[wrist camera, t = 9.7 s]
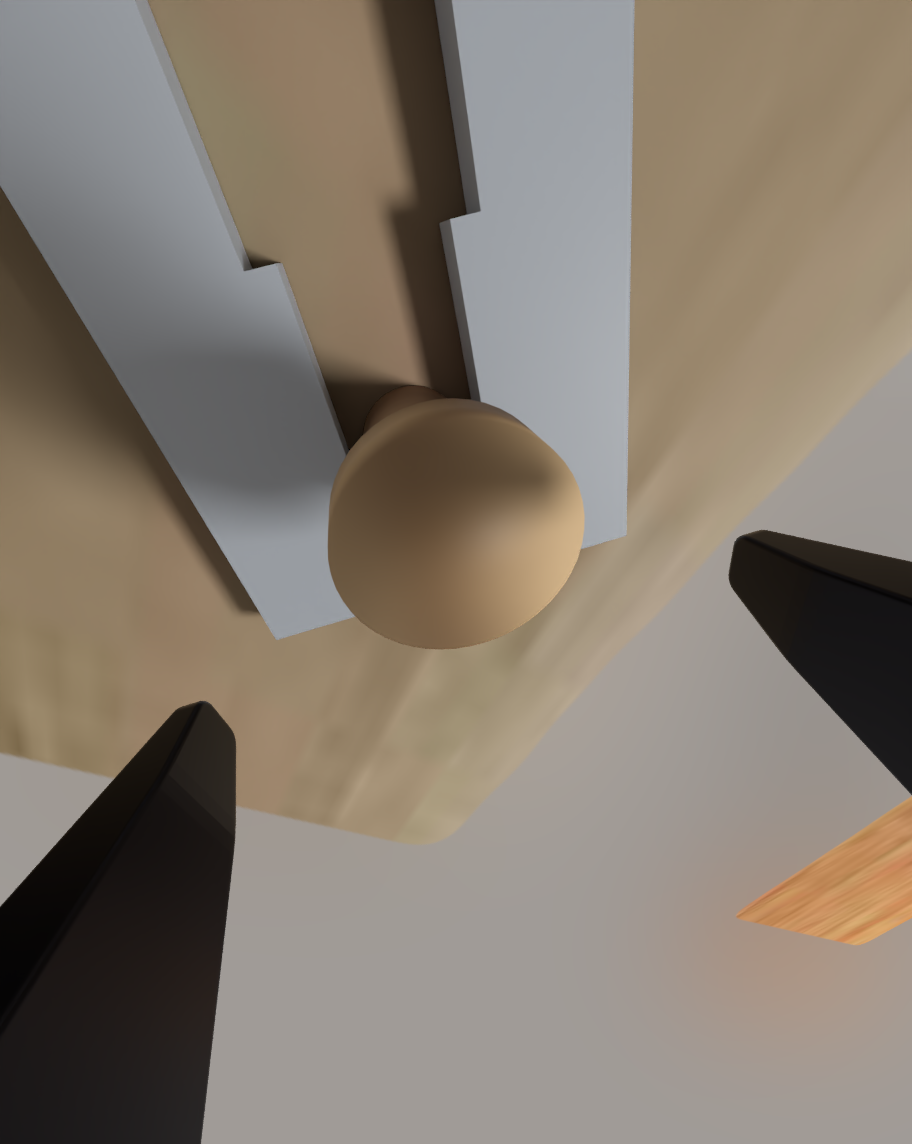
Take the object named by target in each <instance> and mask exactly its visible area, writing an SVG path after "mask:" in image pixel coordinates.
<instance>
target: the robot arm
mask: <svg viewBox="0 0 912 1144" xmlns="http://www.w3.org/2000/svg"><path fill="white" fill-rule="evenodd" d="M729 581H730V585H731V587H732V588H733V590H734V591H735V593H736V594H737V595H738V597H739V598H740V599H741V601H742V602H743V603H744V605H745V606H746V607H747V609H748V610H749V611H750V613H751V614H752V615H753V616H754V618H755V619H756V621H757V622H758V623H759V624H760V626H761V627H762V629H763V630H764V631H765V632H766V634H767V635H768V636H769V638H770V639H771V640H772V642H773V643H774V644H775V646H776V647H777V648H778V650H779V651H780V652H781V653H782V655H783V656H784V657H785V658H786V660H788V662H789V663H790V664H791V665H792V666H793V667H794V669H795V670H796V671H797V672H798V673H799V674H800V675H801V676H802V677H803V678H804V679H805V681H806V682H808V684H809V685H810V686H811V687H812V688H813V689H814V690H815V691H816V692H817V693H818V694H819V696H821V698H822V699H823V700H824V701H825V702H826V703H827V704H828V705H829V706H830V707H831V708H832V710H833V711H834V712H835V713H836V714H837V715H838V716H839V717H840V718H841V719H842V720H843V721H844V723H845V724H846V725H847V726H848V727H849V728H850V729H851V730H852V731H853V732H854V733H855V734H856V735H857V737H858V738H859V739H860V740H861V741H862V742H863V743H864V744H865V745H866V746H867V747H868V748H869V749H870V751H871V752H873V754H874V755H875V756H876V757H877V758H878V759H879V760H880V761H881V762H882V763H883V764H884V766H885V767H886V768H887V769H888V770H889V771H890V772H891V773H892V774H893V775H894V776H895V777H896V778H897V780H898V781H899V782H900V783H901V784H902V785H903V786H904V787H905V788H906V789H907V790H908V791H909V793H910V794H911V795H912V562H910V561H906V560H901V559H896V558H892V557H887V556H882V555H878V554H873V553H869V552H864V551H859V550H855V549H850V548H846V547H841V546H837V545H832V544H827V543H823V542H818V541H813V540H808V539H804V538H799V537H795V536H791V535H785V534H781V533H777V532H772V531H768V530H759V531H755V532H752V533H748V534H745V535H742V536H740V537H738V538H737V540H736V541H735V543H734V547H733V552H732V558H731V563H730V569H729ZM235 826H236V741H235V736H234V733H233V731H232V730H231V728H230V727H229V726H228V724H227V723H226V722H225V721H224V720H223V718H222V717H221V716H220V715H219V713H218V712H217V711H216V710H215V709H214V707H213V706H212V705H211V704H210V703H208V702H206V701H199V702H196V703H192V704H189V705H186V706H183V707H180V708H178V709H177V710H175V711H174V712H173V714H172V715H171V716H170V717H169V718H168V719H167V720H166V721H165V723H164V724H163V725H162V726H161V727H160V728H159V729H158V730H157V732H156V733H155V734H154V735H153V736H152V737H151V738H150V739H149V740H148V742H147V743H146V744H145V745H144V746H143V747H142V748H141V749H140V751H139V752H138V753H137V754H136V755H135V756H134V757H133V758H132V760H131V761H130V762H129V763H128V764H127V765H126V766H125V767H124V769H123V770H122V771H121V772H120V773H119V774H118V775H117V776H116V777H115V779H114V780H113V781H112V782H111V783H110V784H109V786H107V788H106V789H105V790H104V791H103V792H102V793H101V794H100V796H99V797H98V798H97V799H96V800H95V801H94V802H93V803H92V804H91V806H90V807H89V808H88V809H87V810H86V811H85V812H84V813H83V814H82V816H81V817H80V818H79V819H78V820H77V821H76V822H75V823H74V825H73V826H72V827H71V828H70V829H69V830H68V831H67V832H66V834H65V835H64V836H63V837H62V838H61V839H60V840H59V841H58V843H57V844H56V845H55V846H54V847H53V848H52V849H51V850H50V851H49V853H48V854H47V855H46V856H45V857H44V858H43V859H42V860H41V862H40V863H39V864H38V865H37V866H36V867H35V868H34V869H33V870H32V872H31V873H30V874H29V875H28V876H27V877H26V879H25V880H24V881H23V882H22V883H21V884H20V885H19V886H18V887H17V888H16V890H15V891H14V892H13V893H12V894H11V895H10V897H8V898H7V900H6V901H5V902H4V903H3V904H2V905H1V906H0V1144H201V1138H202V1129H203V1120H204V1111H205V1103H206V1093H207V1084H208V1076H209V1067H210V1058H211V1050H212V1041H213V1031H214V1022H215V1015H216V1005H217V996H218V988H219V979H220V970H221V962H222V953H223V944H224V935H225V926H226V917H227V909H228V900H229V891H230V882H231V874H232V865H233V855H234V844H235Z"/></svg>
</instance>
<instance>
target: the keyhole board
mask: <svg viewBox="0 0 912 1144" xmlns="http://www.w3.org/2000/svg"><path fill="white" fill-rule="evenodd" d="M434 1H435V7H436V14H437V21H438V27H439V34H440V40H441V47H442V54H443V60H444V67H445V73H446V80H447V87H448V93H449V100H450V106H451V113H452V119H453V126H454V133H455V139H456V146H457V152H458V159H459V166H460V172H461V179H462V185H463V192H464V198H465V205H466V212H467V215H464V216H460V217H456V218H452V219H449V220H446V221H444V222H441V223H439V225H440V230H441V236H442V241H443V247H444V252H445V258H446V263H447V269H448V274H449V280H450V285H451V291H452V296H453V302H454V307H455V313H456V318H457V324H458V329H459V335H460V340H461V346H462V351H463V357H464V362H465V368H466V373H467V379H468V384H469V390H470V395H471V400H474V401H479V402H483V403H487V404H490V405H492V406H495V407H497V408H500V409H502V410H504V411H506V412H507V413H509V414H511V415H513V416H514V417H516V418H517V419H518V420H519V421H521V422H522V423H523V424H525V425H526V426H527V427H528V428H529V429H530V430H532V431H533V432H534V433H535V434H536V435H537V436H538V437H540V438H541V439H542V440H543V441H544V442H545V443H546V444H547V445H549V446H550V447H551V448H552V449H553V450H554V451H555V452H556V453H557V454H558V455H559V456H560V457H561V458H562V459H563V460H564V462H565V463H566V465H567V466H568V468H569V469H570V471H571V472H572V474H573V476H574V478H575V480H576V482H577V484H578V487H579V490H580V493H581V497H582V500H583V507H584V515H585V520H584V535H583V541H582V546H581V549H583V548H586V547H590V546H593V545H596V544H600V543H603V542H606V541H610V540H613V539H617V538H620V537H623V536H626V526H627V460H628V393H629V327H630V260H631V193H632V127H633V60H634V0H434ZM0 186H1V188H2V190H3V191H4V193H5V195H6V196H7V198H8V200H9V201H10V203H11V205H12V206H13V208H14V209H15V211H16V213H17V214H18V216H19V218H20V219H21V221H22V223H23V224H24V226H25V228H26V229H27V231H28V232H29V234H30V236H31V237H32V239H33V241H34V242H35V244H36V246H37V247H38V249H39V251H40V252H41V254H42V255H43V257H44V259H45V260H46V262H47V264H48V265H49V267H50V269H51V270H52V272H53V274H54V275H55V277H56V278H57V280H58V282H59V283H60V285H61V287H62V288H63V290H64V292H65V293H66V295H67V297H68V298H69V300H70V301H71V303H72V305H73V306H74V308H75V310H76V311H77V313H78V315H79V316H80V318H81V320H82V321H83V323H84V325H85V326H86V328H87V329H88V331H89V333H90V334H91V336H92V338H93V339H94V341H95V343H96V344H97V346H98V348H99V349H100V351H101V352H102V354H103V356H104V357H105V359H106V361H107V362H108V364H109V366H110V367H111V369H112V371H113V372H114V374H115V375H116V377H117V379H118V380H119V382H120V384H121V385H122V387H123V389H124V390H125V392H126V394H127V395H128V397H129V398H130V400H131V402H132V403H133V405H134V407H135V408H136V410H137V412H138V413H139V415H140V417H141V418H142V420H143V421H144V423H145V425H146V426H147V428H148V430H149V431H150V433H151V435H152V436H153V438H154V440H155V441H156V443H157V445H158V446H159V448H160V449H161V451H162V453H163V454H164V456H165V458H166V459H167V461H168V463H169V464H170V466H171V468H172V469H173V471H174V472H175V474H176V476H177V477H178V479H179V481H180V482H181V484H182V486H183V487H184V489H185V491H186V492H187V494H188V495H189V497H190V499H191V500H192V502H193V504H194V505H195V507H196V509H197V510H198V512H199V514H200V515H201V517H202V518H203V520H204V522H205V523H206V525H207V527H208V528H209V530H210V532H211V533H212V535H213V537H214V538H215V540H216V541H217V543H218V545H219V546H220V548H221V550H222V551H223V553H224V555H225V556H226V558H227V560H228V561H229V563H230V565H231V566H232V568H233V569H234V571H235V573H236V574H237V576H238V578H239V579H240V581H241V583H242V584H243V586H244V588H245V589H246V591H247V592H248V594H249V596H250V597H251V599H252V601H253V602H254V604H255V606H256V607H257V609H258V611H259V612H260V614H261V615H262V617H263V619H264V620H265V622H266V624H267V625H268V627H269V629H270V630H271V632H272V634H273V635H274V637H275V638H276V640H278V639H281V638H285V637H288V636H291V635H295V634H298V633H301V632H305V631H308V630H311V629H315V628H318V627H322V626H325V625H328V624H332V623H335V622H338V621H342V620H345V619H348V618H352V617H355V615H354V614H352V612H351V611H350V610H349V609H348V607H347V606H346V605H345V603H344V602H343V600H342V599H341V597H340V595H339V593H338V592H337V590H336V587H335V585H334V582H333V579H332V576H331V572H330V567H329V562H328V520H329V504H330V495H331V491H332V487H333V483H334V480H335V477H336V475H337V473H338V470H339V468H340V466H341V464H342V462H343V460H344V459H345V457H346V456H347V454H348V452H349V449H348V446H347V443H346V440H345V438H344V435H343V432H342V429H341V426H340V424H339V421H338V418H337V415H336V412H335V410H334V407H333V404H332V401H331V398H330V396H329V393H328V390H327V387H326V384H325V382H324V379H323V376H322V373H321V370H320V368H319V365H318V362H317V359H316V356H315V354H314V351H313V348H312V345H311V342H310V340H309V337H308V334H307V331H306V328H305V326H304V323H303V320H302V317H301V314H300V312H299V309H298V306H297V303H296V300H295V298H294V295H293V292H292V289H291V286H290V284H289V281H288V278H287V275H286V272H285V270H284V267H283V264H282V263H275V264H272V265H268V266H264V267H260V268H256V269H252V267H251V264H250V262H249V259H248V257H247V254H246V251H245V249H244V246H243V244H242V241H241V239H240V236H239V234H238V231H237V228H236V226H235V223H234V221H233V218H232V216H231V213H230V211H229V208H228V205H227V203H226V200H225V198H224V195H223V193H222V190H221V188H220V185H219V182H218V180H217V177H216V175H215V172H214V170H213V167H212V165H211V162H210V160H209V157H208V154H207V152H206V149H205V147H204V144H203V142H202V139H201V137H200V134H199V131H198V129H197V126H196V124H195V121H194V119H193V116H192V114H191V111H190V108H189V106H188V103H187V101H186V98H185V96H184V93H183V91H182V88H181V85H180V83H179V80H178V78H177V75H176V73H175V70H174V68H173V65H172V62H171V60H170V57H169V55H168V52H167V50H166V47H165V45H164V42H163V39H162V37H161V34H160V32H159V29H158V27H157V24H156V22H155V19H154V16H153V14H152V11H151V9H150V6H149V4H148V1H147V0H0Z"/></svg>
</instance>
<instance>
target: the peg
mask: <svg viewBox="0 0 912 1144" xmlns="http://www.w3.org/2000/svg"><path fill="white" fill-rule="evenodd" d="M584 520H585V515H584V507H583V500H582V497H581V493H580V490H579V487H578V484H577V482H576V480H575V478H574V476H573V474H572V472H571V471H570V469H569V468H568V466H567V465H566V463H565V462H564V460H563V459H562V458H561V457H560V456H559V455H558V454H557V453H556V452H555V451H554V450H553V449H552V448H551V447H550V446H549V445H547V444H546V443H545V442H544V441H543V440H542V439H541V438H540V437H538V436H537V435H536V434H535V433H534V432H533V431H532V430H530V429H529V428H528V427H527V426H526V425H525V424H523V423H522V422H521V421H519V420H518V419H517V418H516V417H514V416H513V415H511V414H509V413H507V412H506V411H504V410H502V409H500V408H497V407H495V406H492V405H490V404H487V403H483V402H479V401H474V400H470V399H456V398H449V399H447V398H446V397H444V396H443V395H442V394H440V393H439V392H437V391H435V390H433V389H430V388H427V387H422V386H405V387H400V388H397V389H394V390H392V391H390V392H388V393H387V394H385V395H384V396H382V397H381V398H380V399H379V400H378V401H377V402H376V403H375V404H374V406H373V407H372V408H371V410H370V412H369V414H368V416H367V418H366V421H365V425H364V431H363V436H362V437H361V438H360V439H359V440H358V441H357V442H356V443H355V445H354V446H353V447H352V448H351V450H350V451H349V452H348V454H347V456H346V457H345V459H344V460H343V462H342V464H341V466H340V468H339V470H338V473H337V475H336V477H335V480H334V483H333V487H332V491H331V495H330V504H329V520H328V562H329V567H330V572H331V576H332V579H333V582H334V585H335V587H336V590H337V592H338V593H339V595H340V597H341V599H342V600H343V602H344V603H345V605H346V606H347V607H348V609H349V610H350V611H351V612H352V614H354V615H355V616H356V617H357V618H358V619H359V620H360V621H361V622H362V623H363V624H365V625H366V626H367V627H369V628H370V629H371V630H373V631H374V632H376V633H378V634H380V635H382V636H384V637H385V638H388V639H390V640H393V641H395V642H398V643H401V644H405V645H409V646H412V647H419V648H425V649H456V648H462V647H468V646H473V645H477V644H481V643H484V642H487V641H490V640H493V639H496V638H498V637H500V636H502V635H505V634H507V633H509V632H511V631H513V630H514V629H516V628H518V627H519V626H521V625H523V624H524V623H526V622H527V621H529V620H530V619H531V618H533V617H534V616H535V615H537V614H538V613H539V612H540V611H541V610H542V609H543V608H544V607H546V606H547V605H548V603H549V602H550V601H551V600H552V599H553V598H554V597H555V596H556V595H557V593H558V592H559V591H560V589H561V588H562V587H563V585H564V584H565V582H566V581H567V579H568V577H569V575H570V574H571V572H572V570H573V568H574V566H575V563H576V561H577V559H578V556H579V552H580V549H581V546H582V541H583V535H584Z"/></svg>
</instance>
